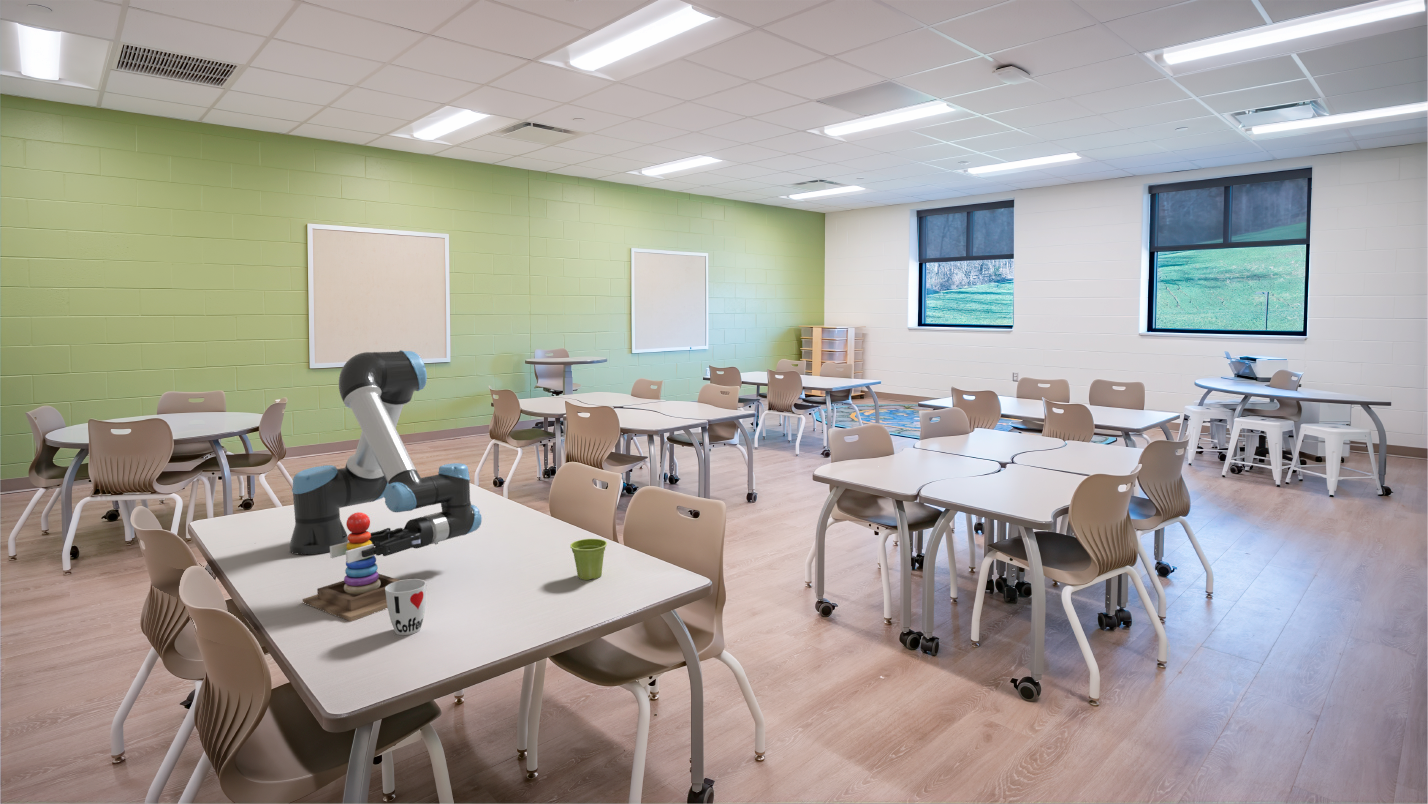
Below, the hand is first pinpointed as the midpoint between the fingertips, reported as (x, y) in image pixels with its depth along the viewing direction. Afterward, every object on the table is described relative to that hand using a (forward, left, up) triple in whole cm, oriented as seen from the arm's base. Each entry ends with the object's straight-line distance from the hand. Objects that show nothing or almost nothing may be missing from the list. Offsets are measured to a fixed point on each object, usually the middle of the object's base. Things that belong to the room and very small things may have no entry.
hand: (339, 554), depth 172 cm
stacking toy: (0, +5, -10) cm, 11 cm away
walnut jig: (0, +5, -13) cm, 14 cm away
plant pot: (+35, +46, -13) cm, 59 cm away
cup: (+25, 0, -13) cm, 28 cm away
